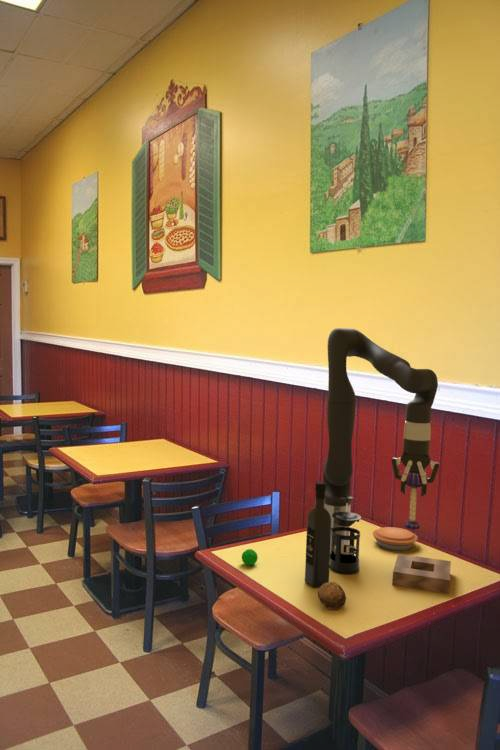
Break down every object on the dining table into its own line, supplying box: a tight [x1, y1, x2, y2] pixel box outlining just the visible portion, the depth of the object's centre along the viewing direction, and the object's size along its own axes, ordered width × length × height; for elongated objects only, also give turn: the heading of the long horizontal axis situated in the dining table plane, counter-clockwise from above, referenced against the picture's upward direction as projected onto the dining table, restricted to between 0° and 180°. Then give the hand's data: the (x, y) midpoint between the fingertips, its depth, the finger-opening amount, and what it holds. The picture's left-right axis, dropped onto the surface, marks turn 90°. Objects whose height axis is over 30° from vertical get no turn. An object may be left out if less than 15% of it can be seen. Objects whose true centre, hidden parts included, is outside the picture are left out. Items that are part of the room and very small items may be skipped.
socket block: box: [391, 553, 452, 595], centre depth 186 cm, size 16×16×4 cm
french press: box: [329, 495, 362, 575], centre depth 192 cm, size 12×9×23 cm
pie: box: [372, 526, 419, 551], centre depth 216 cm, size 16×16×5 cm
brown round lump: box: [317, 581, 347, 611], centre depth 166 cm, size 8×8×6 cm
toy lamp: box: [404, 471, 423, 530], centre depth 180 cm, size 5×5×17 cm
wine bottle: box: [304, 481, 331, 588], centre depth 179 cm, size 6×6×30 cm
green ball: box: [241, 548, 259, 566], centre depth 193 cm, size 5×5×5 cm
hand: (413, 494), depth 180 cm, fingers closed on toy lamp, 4 cm apart
